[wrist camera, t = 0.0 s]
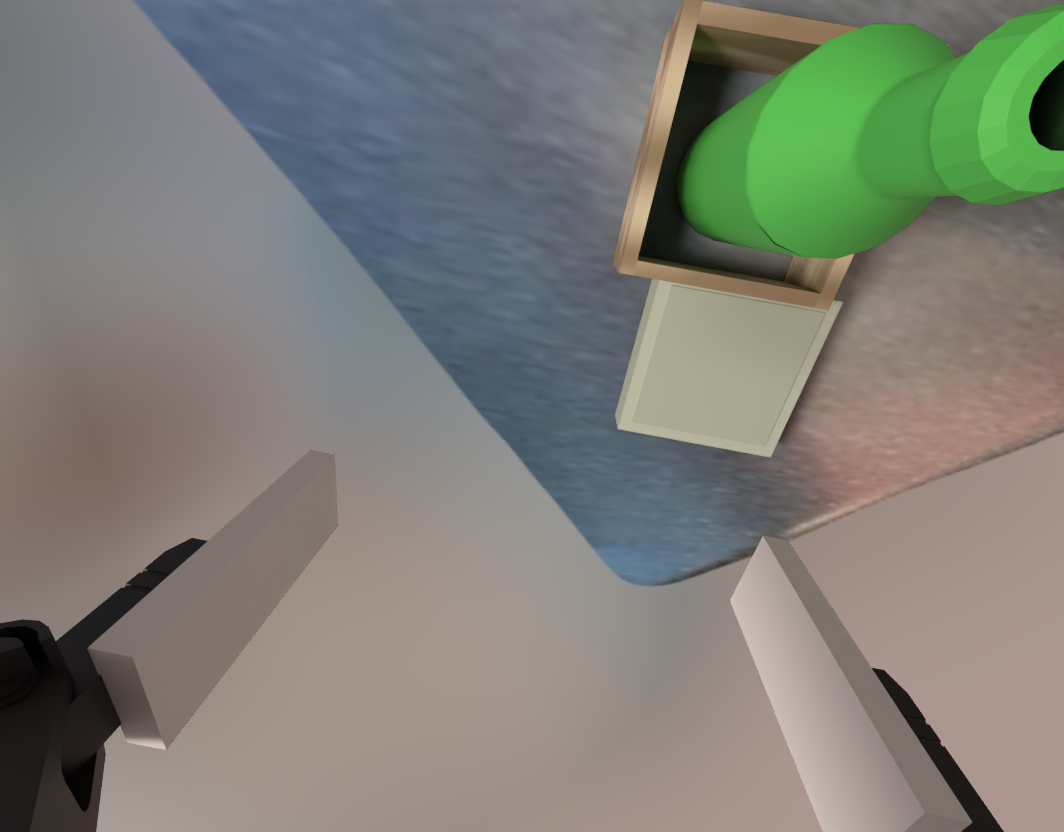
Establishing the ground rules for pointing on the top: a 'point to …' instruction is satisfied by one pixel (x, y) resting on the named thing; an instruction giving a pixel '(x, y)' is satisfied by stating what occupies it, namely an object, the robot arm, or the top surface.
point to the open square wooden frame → (691, 37)
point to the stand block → (719, 366)
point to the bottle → (881, 138)
